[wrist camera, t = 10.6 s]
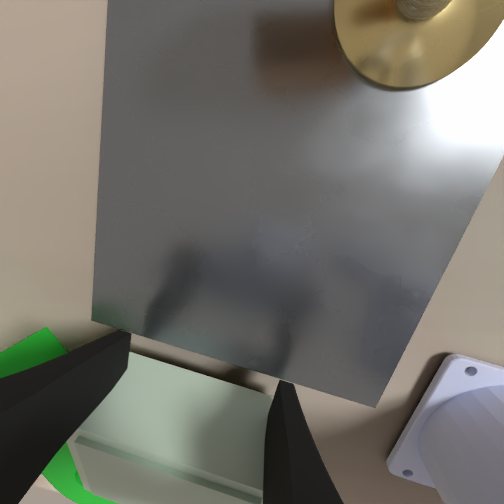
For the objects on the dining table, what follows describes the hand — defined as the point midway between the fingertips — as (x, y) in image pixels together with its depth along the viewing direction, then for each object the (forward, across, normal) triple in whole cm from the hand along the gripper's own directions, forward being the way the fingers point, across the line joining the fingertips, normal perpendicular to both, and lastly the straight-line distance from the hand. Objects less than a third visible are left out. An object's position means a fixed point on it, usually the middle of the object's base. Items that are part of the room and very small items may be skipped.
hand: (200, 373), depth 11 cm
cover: (+2, 0, +4) cm, 5 cm away
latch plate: (+2, -1, -11) cm, 11 cm away
